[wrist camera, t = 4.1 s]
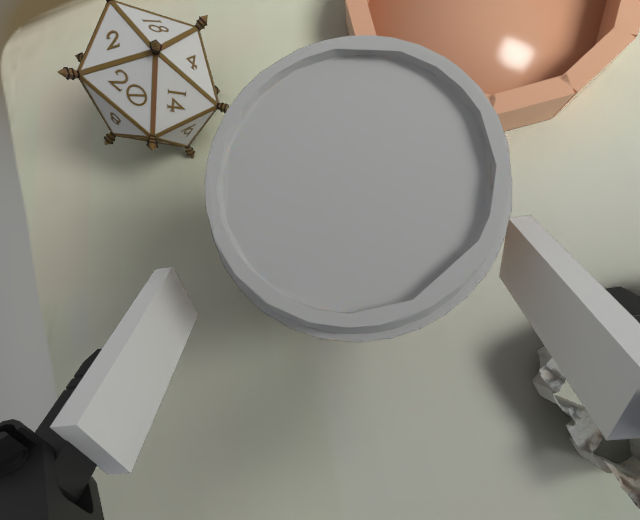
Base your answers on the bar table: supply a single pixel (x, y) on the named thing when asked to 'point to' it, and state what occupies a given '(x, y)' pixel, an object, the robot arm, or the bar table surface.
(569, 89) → the terracotta bowl
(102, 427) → the robot arm
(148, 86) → the game die
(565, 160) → the bar table surface
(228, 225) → the disposable coffee cup
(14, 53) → the bar table surface
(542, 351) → the egg carton
